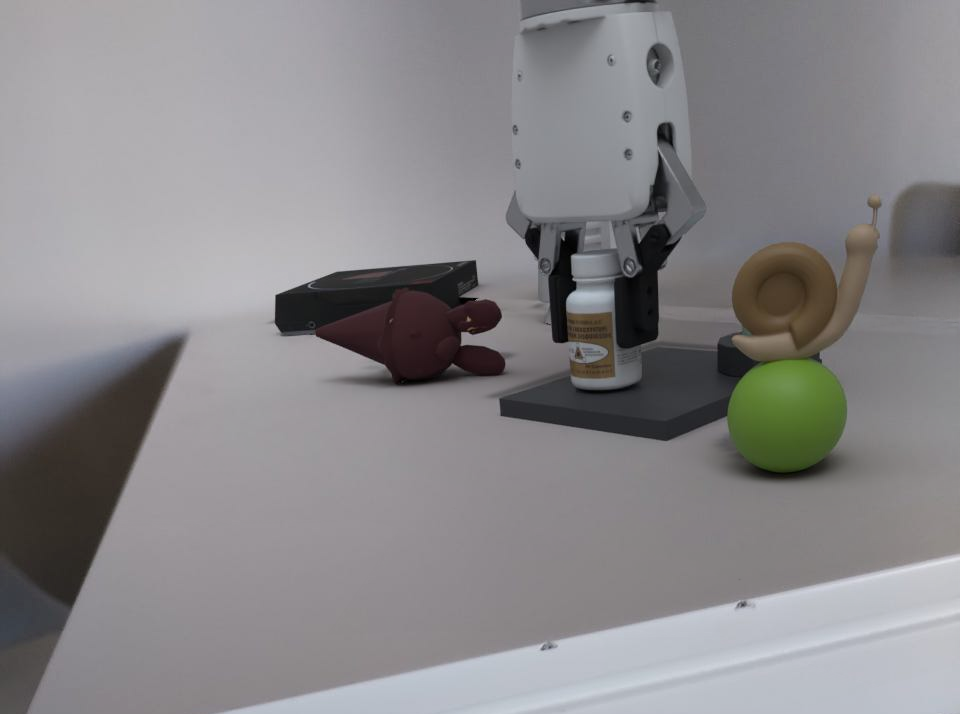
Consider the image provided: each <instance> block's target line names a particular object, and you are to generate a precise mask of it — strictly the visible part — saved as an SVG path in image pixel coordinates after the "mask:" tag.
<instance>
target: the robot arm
mask: <svg viewBox="0 0 960 714" xmlns="http://www.w3.org/2000/svg"><path fill="white" fill-rule="evenodd" d="M516 3H517V14H518V21H519V22H518V25H519V34H516V35H515V36H514V45H513V54H512V55H513V56H512V69H511V93H510V94H511V96H510V98H511V99H510V103H511V105H510V125H511V127H510V128H511V129H510V130H511V153H512V169H513V180H514V192H513V194H512V197H511V200H510V202H509V204H508V208H507V210H506V213H505V222H506V223H507V225H508V226H509V228H511V229H512V230H513V231H514V232H515V233H516V234H517V235H518V236H519V237H520V238H521V239H522V240H524V242H525V244H526V246H527V248H528V249H529V250H530V252H531V253H532V254H533V256H534V255H535V257H536V258H537V259H538V261H537V269H538V268H539V271H540V273H541V274H542V275H543V276H549V277H548V285H549V299H550V303H549V306H550V313H551V324H550V325H551V339H552V341H553V342H554V343H555V344H565V343H566V344H567V343H569V340H568V327H567V314H566V301H567V298H568V296H569V295H570V294H571V293H572V292H573V291H575V290H576V289H577V282H576V281H573V280H572V279H573V277H574V276H573V275H572V266H571V256H572V255H573V254H576V253H579V252H583V249H584V240H585V231H586V222H599V221H609V222H610V223H611V227H612V232H613V236H614V242H615V245H616V248H617V251H618V255H619V260H620V265H621V269H622V272H623V274H624V276H622V277H618V278H615V282H614V298H615V319H616V341H617V344H618V345H619V347H620V348H627V349H629V348H632V347H635V346H638V345H641V346H642V345H645V344H648V343H651V342H654V341H656V340H657V339H658V337H659V322H660V304H659V303H660V302H659V301H660V300H659V271H662V270H664V269H665V268H666V266H667V264H668V258H669V257H670V255H671V253H673V251H674V250H675V248H676V247H677V246H678V244H679V243H680V242H681V240H682V238H683V236H684V235H685V234H687V233H688V232H689V231H690V230H691V229H693V227H694V226H695V225H696V224H697V223H698V222H700V220H701V219H703V218H704V217H705V214H706V212H707V205H706V203H705V201H704V199H703V197H702V195H701V194H700V192H699V191H698V189H697V187H696V186H695V183H694V182H693V162H692V142H691V141H692V140H691V126H690V114H689V104H688V93H687V87H686V77H685V71H684V64H683V59H682V53H681V48H680V43H679V38H678V34H677V29H676V25H675V21H674V18H673V15H672V12H671V11H668V10H666V11H665V10H661V11H660V10H659V9H660V8H659V6H660V5H659V0H516ZM659 213H665V214H664V215H663V216H662V217H661V219H660V216H659ZM637 229H638V231H637ZM561 232H565V237H564V240H563V239H562V238H561ZM637 232H638V233H639V238H640V241H639V238H638V233H637Z"/></svg>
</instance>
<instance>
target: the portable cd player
mask: <svg viewBox="0 0 960 714" xmlns="http://www.w3.org/2000/svg"><path fill="white" fill-rule="evenodd" d="M478 286H479V278H478V267H477V259H473V260H471V259H470V260H460V261H446V262H438V263H437V262H436V263H435V262H434V263H424V264H412V265H411V264H410V265H401V266H388V267H375V268H363V269H353V270H341V271H340V270H339V271H335V272H332V273H329V274H327V275H325V276H322V277H319V278H317V279H314V280H311V281H309V282H306V283H303V284H300V285H298V286H295V287H292V288H290V289H288V290H284V291H282V292H280V293H277V294H274V295H275V297H274V325H275V326H276V328H277V330H278V331H279V332H280V334H281V335H282V337H286V336H289V337H290V336H304V334H305V335H315V330H316V329H318V328H320V327H322V326H325V325H328V324H330V323H333V322H336V321H338V320H341V319H344V318H347V317H349V316H352V315H355V314H357V313H360V312H363V311H366V310H368V309H371V308H374V307H376V306H379V305H382V304H385V303H387V302H390V301H393V298H392V295H393V293H394V292H395V291H396V290H397V289H400V290H401V289H403V288H405V287H406V288H408V289H409V290H410V291H412V290H413V291H419V292H425V293H429V294H430V295H432V296H434V297H436V298H438V299H439V300H441V301H442V302H444V303H445V304H447V305H448V306H449V307H450V308H451V309H454V308H456V307H458V306H460V305H464V304H465V303H467V302H468V301H475V300H476V299H478V298H479V297H465V296H463V295H466V294H467V293H468V292H470V291H472V290H474V289H475V288H477V287H478ZM478 300H479V299H478ZM476 301H477V300H476Z"/></svg>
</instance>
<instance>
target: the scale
mask: <svg viewBox="0 0 960 714" xmlns="http://www.w3.org/2000/svg"><path fill="white" fill-rule="evenodd" d="M736 335H742V331H737V332H733V333H730V334H727V335H724V336H721V337H720V338H719V339H718V341H717V344H716V345H717V350H707V349H706V350H705V349H693V348H679V347H665V346H656V347H652V348H650V349H646V350H643V351H641V360H642V377H641V379H640V380H639V381H638V382H637V383H635V384H633V385H630V386H627V387H624V388H619V389H612V390H586V389H580V388H577V387H575V386H574V385H573V384H572V382H571V374H570V375H566V376H564V377H561V378H558V379H554V380H551V381H548V382H545V383H541V384H539V385H536V386H532V387H530V388H527V389H523V390H521V391H517V392H513V393H512V394H509V395H506V396H502V397H499V399H498V401H499V411H500V417H505V418H511V419H512V418H513V419H518V420H523V421H531V422H535V423H544V424H550V425H557V426H562V427H570V428H577V429H583V430H588V431H589V430H590V431H597V432H603V433H610V434H617V435H623V436H630V437H635V438H643V439H648V440H654V441H655V440H656V441H661V442H662V441H663V442H668V441H671V440H673V439H675V438H678V437H680V436H683V435H685V434H688V433H690V432H693V431H696V430H697V429H699V428H702V427H705V426H707V425H709V424H712V423H714V422H717V421H719V420H721V419H723V418H726V417H727V413H728V406H729V402H730V398H731V396H732V393H733V391H734V389H735V387H736V386H737V384H738V383H739V381H740V380H741V379H742V377H743V376H744V375H745V374H746V373H747V372H748V371H750V370H751V369H752V368H753V367H755V366H756V365H758V364H759V363H761V362H760V361H756V360H753V359H751V358H749V357H748V356H746V355H745V354H744V353H743V352H741V351H740V350H739V349H738V348H737V347H736V346H735V345H734V344H733V342H732V337H733V336H736ZM820 357H821V351H820V352H818V353H817V354H815V355H813V356H811V357H809V358H811V359H813V360H816V361H818V362H820V363H821V364H823V359H822V358H820Z"/></svg>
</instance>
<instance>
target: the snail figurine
mask: <svg viewBox="0 0 960 714" xmlns="http://www.w3.org/2000/svg"><path fill="white" fill-rule="evenodd" d="M866 202H867V206H868V207H869V208H871V209H872V220H871V224H870V223H867V222H866V223H860V224H857V225H855V226H853V227H852V228H851V229H850V230H849V231H848V233H847V235H846V237H845V240H844V246H845V251H846V260H845V263H844V268H843V270H842V273H841V274H842V275H841V277H840V280H839V283H838V282H837V280H836V279H837V278H836V276H835V272H834V270H833V268H832V266H831V264H830V262H829V261H828V260H827V259H826V258H825V256H824V255H823V254H822V253H820V252H819V251H818V250H817V249H815V248H813V247H811V246H809V245H806V244H805V243H800V242H795V241H782V242H777V243H774V244H773V243H772V244H770V245H768V246H765V247H762V248H761V249H760V250H758V251H757V252H755V253H753V254H752V255H751V256H750V257H749V258H748V259H747V260H746V261H745V262H744V263H743V265H742V266H741V267H740V269H739V271H738V272H737V275H736V277H735V280H734V282H733V286H732V290H731V291H732V292H731V304H732V309H733V312H734V315H735V318H736V319H737V320H738V322H739V323H740V324H741V326H742V325H743V326H744V327H745V328H746V329H747V330H748V331H749V332H750V333H751V334H752V335H751V336H747V335H736V336H733V337H732V342H733V344H734V345H735V346H736V347H737V348H738V349H739V350H740V351H741V352H743V353H744V354H745V355H746V356H748V357H749V358H751V359H753V360H756V361H760V362H761V363H759V364H758V365H756V366H755V367H753V368H752V369H751V370H750V371H748V372H747V373H746V374H745V375H744V376H743V377H742V379H741V380H740V381H739V383H738V384H737V386H736V387H735V389H734V391H733V393H732V396H731V398H730V402H729V406H728V413H727V416H726V417H727V418H726V419H727V428H728V433H729V436H730V438H731V441H732V443H733V445H734V446H735V448H736V449H737V451H738V452H739V454H740V455H741V456H742V457H743V458H745V460H746V461H748V462H750V463H751V464H752V465H754V466H755V467H757V468H760V469H762V470H765V471H769V472H774V473H780V474H781V473H783V474H784V473H785V474H786V473H794V472H799V471H802V470H805V469H808V468H810V467H812V466H814V465H816V464H817V463H819V462H821V461H822V460H824V458H826V457H827V456H828V455H829V454H830V453H831V452H832V451H833V450H834V449H835V447H836V445H837V444H838V443H839V442H840V439H841V438H842V435H843V433H844V431H845V427H846V424H847V418H848V403H847V397H846V393H845V391H844V388H843V386H842V383H841V382H840V381H839V379H838V378H837V376H836V375H835V374H834V373H833V371H831V370H830V368H828V367H827V366H826V365H825V364H823V363H822V364H821V363H820V362H818V361H816V360H813V359H811V358H809V357H811V356H813V355H815V354H817V353H818V352H820V353H821V352H822V351H824V350H826V349H828V348H830V347H832V345H834V344H836V343H837V342H838V341H839V340H840V339H841V338H842V337H843V336H844V335H845V333H846V332H847V331H848V329H849V328H850V326H851V324H852V323H853V321H854V319H855V316H856V315H857V313H858V310H859V308H860V305H861V302H862V299H863V296H864V292H865V289H866V286H867V283H868V279H869V276H870V273H871V272H870V271H871V266H872V262H873V258H874V256H875V253H876V251H877V250H878V248H879V244H878V241H879V239H880V237H881V234H880V231H879V230H878V228H877V222H878V211H879V209H880V208H881V207H882V205H883V198H882V196H880V195H878V194H876V193H873V194H870V195H869V196H868V198H867V201H866ZM837 283H838V284H837Z"/></svg>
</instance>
